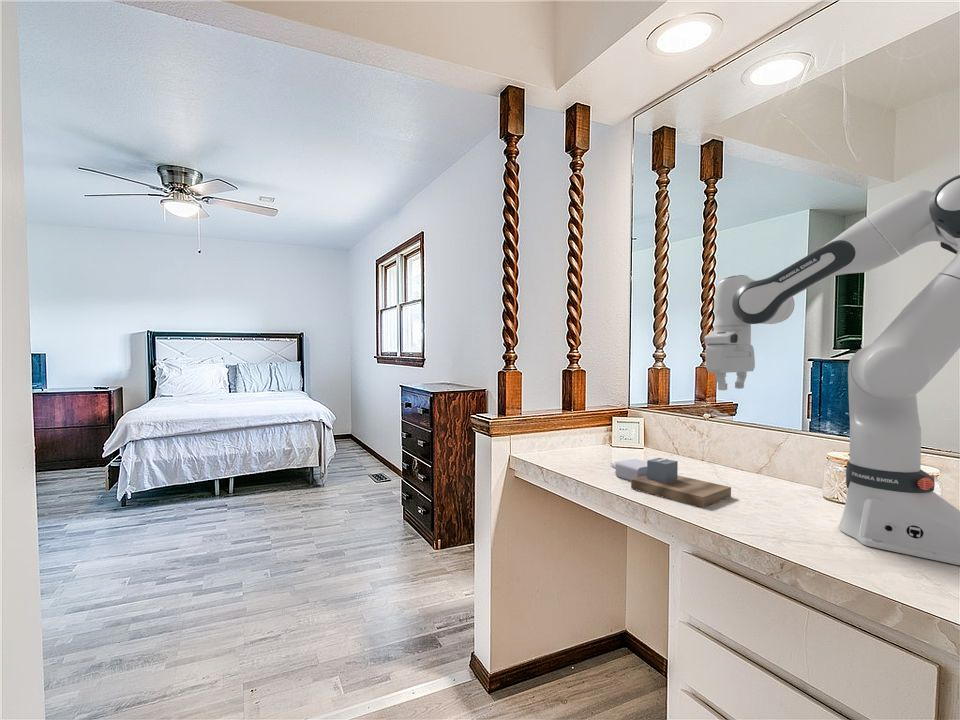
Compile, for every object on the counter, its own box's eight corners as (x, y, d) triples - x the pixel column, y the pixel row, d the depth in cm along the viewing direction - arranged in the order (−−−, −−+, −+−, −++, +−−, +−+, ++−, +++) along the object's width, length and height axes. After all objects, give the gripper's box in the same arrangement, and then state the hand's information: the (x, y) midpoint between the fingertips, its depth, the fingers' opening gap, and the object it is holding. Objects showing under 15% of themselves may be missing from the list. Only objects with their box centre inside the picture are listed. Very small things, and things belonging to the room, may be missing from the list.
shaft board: (730, 496, 124) (731, 473, 124) (703, 507, 115) (703, 483, 115) (660, 480, 140) (660, 459, 139) (631, 488, 131) (631, 466, 131)
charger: (624, 469, 153) (661, 480, 140) (601, 472, 149) (637, 484, 136) (624, 454, 153) (661, 464, 140) (601, 457, 149) (637, 468, 135)
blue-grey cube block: (647, 478, 132) (647, 459, 132) (658, 475, 135) (658, 456, 135) (665, 483, 127) (666, 463, 127) (677, 479, 131) (677, 460, 131)
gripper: (737, 338, 138) (737, 386, 138) (701, 337, 125) (700, 390, 126) (761, 338, 133) (760, 388, 133) (725, 336, 120) (724, 392, 121)
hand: (731, 389), depth 129 cm, fingers open, 8 cm apart
